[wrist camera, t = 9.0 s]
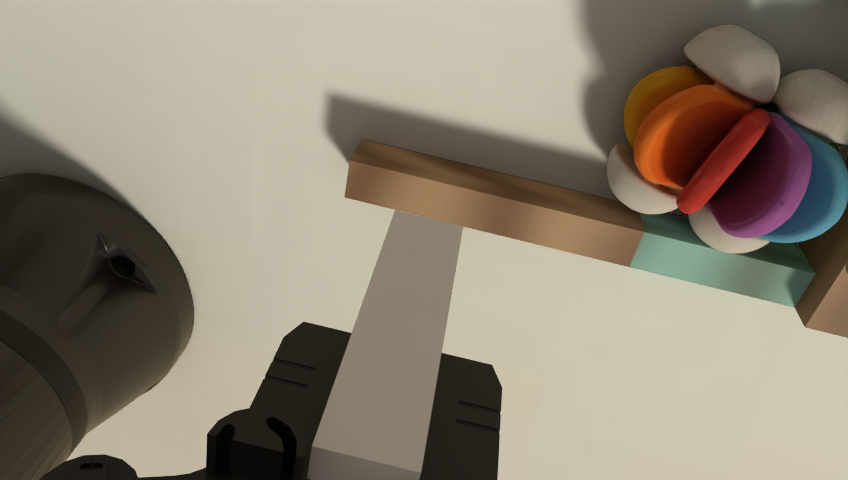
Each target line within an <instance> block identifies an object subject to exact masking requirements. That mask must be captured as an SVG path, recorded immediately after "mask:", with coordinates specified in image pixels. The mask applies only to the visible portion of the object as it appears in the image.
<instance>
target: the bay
mask: <svg viewBox="0 0 848 480" xmlns="http://www.w3.org/2000/svg"><path fill="white" fill-rule="evenodd" d="M846 168H847V171H848V162H847V164H846ZM345 197H346V198H350V199H354V200H358V201H362V202H366V203H370V204H374V205H378V206H382V207H387V208H391V209H395V210H399V211H403V212H407V213H411V214H415V215H419V216H423V217H427V218H431V219H436V220H440V221H444V222H448V223H452V224H456V225H460V226H464V227H468V228H472V229H476V230H481V231H485V232H489V233H493V234H497V235H501V236H505V237H509V238H513V239H517V240H521V241H525V242H530V243H534V244H538V245H542V246H546V247H550V248H554V249H558V250H562V251H566V252H570V253H574V254H579V255H583V256H587V257H591V258H595V259H599V260H603V261H607V262H611V263H615V264H619V265H624V266H628V267H632V268H636V269H640V270H644V271H648V272H652V273H656V274H660V275H664V276H668V277H673V278H677V279H681V280H685V281H689V282H693V283H697V284H701V285H705V286H709V287H713V288H718V289H722V290H726V291H730V292H734V293H738V294H742V295H746V296H750V297H754V298H758V299H762V300H767V301H771V302H775V303H779V304H783V305H787V306H791V307H795V309H796V311H797V313H798V315H799V317H800V319H801V320H802V322H803V324H804V326H805V327H806V328H810V329H814V330H819V331H823V332H827V333H831V334H835V335H839V336H843V337H847V338H848V201H847V205H846V208H845V210H844V212H843V214H842V216H841V218H840V219H839V220H838V222H837V223H836V224H834V225H833V226H832V227H831V228H830V229H828V230H827V231H825V232H824V233H822V234H820V235H818V236H816V237H814V238H811V239H808V240H805V241H801V242H800V243H799V245H796V244H792V243H778V242H771V241H770V242H769V243H768V244H766V245H764V246H763V247H761V248H759V249H757V250H754V251H751V252H746V253H726V252H722V251H719V250H716V249H714V248H712V247H711V246H709V245H708V244H706V243H705V242H704V241H702V240H701V239H700V238H699V237H698V236H697V234H696V233H695V232H694V230H693V228H692V226H691V224H690V221H689V219H688V218H684V217H680V216H676V215H672V214H668V213H662V214H644V213H640V212H637V211H635V210H632V209H631V208H629V207H627V206H626V205H625V204H623V203H622V202H618V201H614V200H610V199H606V198H602V197H598V196H594V195H589V194H585V193H581V192H577V191H573V190H569V189H565V188H561V187H556V186H552V185H548V184H544V183H540V182H536V181H532V180H528V179H523V178H519V177H515V176H511V175H507V174H503V173H499V172H495V171H490V170H486V169H482V168H478V167H474V166H470V165H466V164H462V163H457V162H453V161H449V160H445V159H441V158H437V157H433V156H429V155H424V154H420V153H416V152H412V151H408V150H404V149H400V148H396V147H391V146H387V145H383V144H379V143H375V142H371V141H367V140H363V139H362V140H361V142H360V144H359V146H358V147H357V149H356V151H355V153H354V154H353V156H352V158H351V160H350V164H349V171H348V177H347V184H346V191H345Z"/></svg>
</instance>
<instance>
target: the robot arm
mask: <svg viewBox="0 0 848 480" xmlns="http://www.w3.org/2000/svg"><path fill="white" fill-rule="evenodd" d="M462 229H463V226H460V225H455V224H451V223H447V222H443V221H438V220H434V219H430V218H426V217H422V216H417V215H413V214H409V213H405V212H401V211H396V210H395V212H394V215H393V218H392V221H391V223H390V226H389V229H388V232H387V235H386V238H385V240H384V243H383V246H382V249H381V252H380V255H379V257H378V260H377V263H376V266H375V269H374V272H373V274H372V277H371V280H370V283H369V286H368V289H367V291H366V294H365V297H364V300H363V303H362V306H361V308H360V311H359V314H358V317H357V320H356V323H355V325H354V328H353V331H352V333H349V332H345V331H340V330H336V329H332V328H328V327H324V326H320V325H315V324H311V323H307V322H303V323H301V324H300V325H299V326H297V327H296V328H295V329H294V330H292V331H291V332H290V333H289V334H287V335H286V336H285V337H284V338H283V340H282V342H281V344H280V346H279V348H278V350H277V352H276V355H275V357H274V360H273V362H272V363H271V365H270V367H269V369H268V371H267V373H266V376H265V379H263V381H262V384H261V386H260V388H259V390H258V392H257V394H256V396H255V398H254V400H253V402H252V404H251V406H250V408H248V409H244V410H239V411H234V412H233V413H231V414H229V415H227V416H226V417H224V418H222V419H220V420H219V421H218V422H217V423H216V424H215V425H214V426H213V428H212V429H211V430H210V431H209V432H208V434H207V460H206V468H204V469H201V470H198V471H195V472H193V473H190V474H183V475H177V476H162V477H143V478H138V477H137V474H136V471H135V470H134V469H133V468H132V467H131V466H129V465H128V464H127V463H126V462H125V461H123V460H122V459H118V458H115V457H111V456H108V455H84V456H81V457H78V458H75V459H72V460H69V461H66V460H67V458H68V457H69V456H70V454H71V453H72V452H73V450H74V449H75V448H76V446H77V445H78V444H79V442H80V441H81V440H82V439H83V437H84V436H85V435H86V434H87V433H88V432H89V431H91V430H92V429H94V428H95V427H97V426H98V425H100V424H101V423H102V422H104V421H105V420H107V419H108V418H110V417H111V416H113V415H114V414H116V413H117V412H118V411H120V410H121V409H123V408H124V407H125V406H127V405H128V404H129V403H131V402H132V401H134V400H135V399H136V398H138V397H139V396H140V395H142V394H144V393H146V392H147V391H149V390H151V389H152V388H153V387H155V386H156V385H157V384H158V383H159V382H160V381H161V380H162V379H163V378H164V377H165V376H166V375H167V374H168V373H169V371H170V370H171V368H172V367H173V366H174V364H175V363H176V361H177V360H178V358H179V357H180V355H181V354H182V352H183V351H184V349H185V348H186V346H187V344H188V342H189V340H190V337H191V334H192V330H193V324H194V306H193V299H192V295H191V291H190V288H189V285H188V282H187V280H186V277H185V275H184V273H183V271H182V269H181V267H180V265H179V263H178V262H177V260H176V258H175V257H174V255H173V254H172V252H171V251H170V250H169V248H168V247H167V246H166V244H165V243H164V242H163V241H162V239H161V238H160V237H159V236H158V235H157V234H156V233H155V232H154V231H153V230H152V229H151V228H150V227H149V226H148V225H147V224H146V223H145V222H144V221H143V220H141V219H140V218H139V217H138V216H137V215H135V214H134V213H133V212H132V211H130V210H129V209H127V208H126V207H125V206H123V205H122V204H120V203H119V202H117V201H115V200H114V199H112V198H110V197H109V196H107V195H105V194H103V193H101V192H99V191H97V190H95V189H93V188H90V187H88V186H85V185H83V184H80V183H77V182H74V181H71V180H68V179H64V178H60V177H55V176H49V175H40V174H19V175H11V176H6V177H2V178H0V480H497V475H498V456H499V436H500V434H499V431H500V417H501V415H500V412H501V398H502V386H501V384H500V382H499V380H498V377H497V375H496V373H495V371H494V368H493V366H492V365H490V364H486V363H481V362H477V361H473V360H469V359H465V358H461V357H456V356H452V355H448V354H444V353H442V347H443V341H444V335H445V329H446V324H447V318H448V312H449V306H450V300H451V294H452V288H453V282H454V277H455V271H456V265H457V259H458V253H459V247H460V241H461V235H462ZM65 461H66V462H65Z"/></svg>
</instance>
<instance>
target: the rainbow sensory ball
mask: <svg viewBox="0 0 848 480" xmlns="http://www.w3.org/2000/svg"><path fill="white" fill-rule="evenodd" d="M684 52H685V54H686V56H687V57H688V58H689V59H690V60H691V61H692V62H693V63H694V64H695V65H696V66H697V67H698V68H696V67H694V66H688V65H684V66H674V67H667V68H663V69H660V70H657V71H655V72H653V73H651V74H649V75H648V76H646V77H644V78H643V79H642V80H640V81H639V82H638V83H637V84H636V85H635V86H634V87H633V89H632V91H631V92H630V94H629V96H628V99H627V101H626V104H625V108H624V128H625V133H626V137H627V139H628V141H629V144H628V143H619V144H616V145H615V146H614V147H613V148H612V150H611V152H610V155H609V158H608V162H607V178H608V182H609V185H610V188H611V190H612V192H613V193H614V195H615V196H616V197H617V198H618V199H619V200H620V201H621V202H622V203H623V204H625V205H626V206H627V207H629V208H631V209H632V210H635V211H637V212H640V213H644V214H662V213H666V212H670V211H672V210H675V209H677V208H679V210H680V211H682V212H683V213H685V214H688V217H689V221H690V224H691V226H692V228H693V230H694V232H695V233H696V234H697V236H698V237H699V238H700V239H701V240H702V241H704V242H705V243H706V244H708V245H709V246H711V247H712V248H714V249H716V250H719V251H722V252H726V253H746V252H751V251H754V250H757V249H759V248H761V247H763V246H764V245H766V244H768V243H769V242H770V241H771V242H778V243H794V242H801V241H805V240H808V239H811V238H814V237H816V236H818V235H820V234H822V233H824V232H825V231H827V230H828V229H830V228H831V227H832V226H833V225H834V224H836V223H837V222H838V220H839V219H840V218H841V216H842V214H843V212H844V210H845V208H846V205H847V201H848V171H847V168H846V165H845V163H844V161H843V159H842V157H841V155H840V154H839V151H838V148H837V145H836V143H839V144H842V145H847V146H848V83H847V82H845V81H843V80H842V79H840V78H838V77H836V76H835V75H833V74H831V73H829V72H827V71H824V70H821V69H804V70H799V71H796V72H793V73H790V74H788V75H786V76H784V77H782V78H781V79H779V78H780V63H779V58H778V55H777V53H776V51H775V49H774V48H773V47H772V46H771V45H770V44H768V43H767V42H765V41H764V40H763V39H761V38H759V37H758V36H756V35H755V34H753V33H751V32H749V31H748V30H746V29H744V28H742V27H740V26H737V25H732V24H729V25H720V26H716V27H712V28H710V29H707V30H705V31H703V32H701V33H700V34H698V35H697V36H695V37H694V38H693V39H691V40H690V41H689V42H688V43H687V44H686V45H685V47H684ZM770 101H771V102H772V103H773V104H775V106H768V107H766V108H765V109H762V108H756V107H755V105H761V104H767V103H769V102H770Z"/></svg>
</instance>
